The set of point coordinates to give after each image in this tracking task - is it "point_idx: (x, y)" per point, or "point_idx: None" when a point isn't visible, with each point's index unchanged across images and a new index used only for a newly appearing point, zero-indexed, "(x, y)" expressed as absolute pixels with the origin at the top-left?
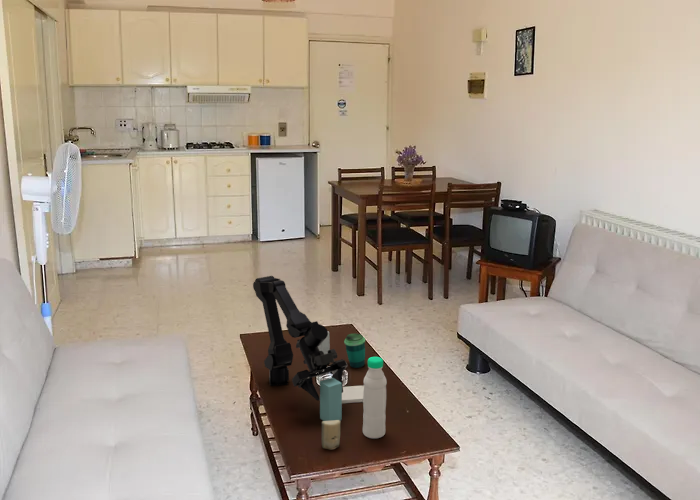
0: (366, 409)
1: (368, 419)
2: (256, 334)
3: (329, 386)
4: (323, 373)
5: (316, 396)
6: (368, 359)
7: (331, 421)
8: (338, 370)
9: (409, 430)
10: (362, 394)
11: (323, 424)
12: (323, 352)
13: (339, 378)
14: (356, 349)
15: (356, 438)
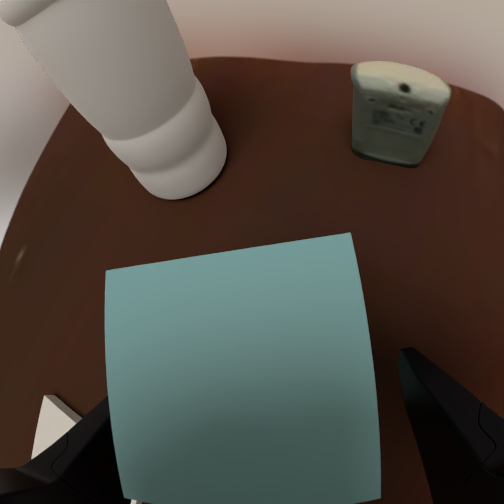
0: (186, 52)
1: (199, 82)
2: None
3: (330, 250)
4: None
5: (433, 366)
6: None
7: (402, 73)
8: (2, 497)
9: (90, 149)
10: (53, 441)
11: (443, 80)
12: None
13: (66, 459)
14: None
15: (265, 157)
